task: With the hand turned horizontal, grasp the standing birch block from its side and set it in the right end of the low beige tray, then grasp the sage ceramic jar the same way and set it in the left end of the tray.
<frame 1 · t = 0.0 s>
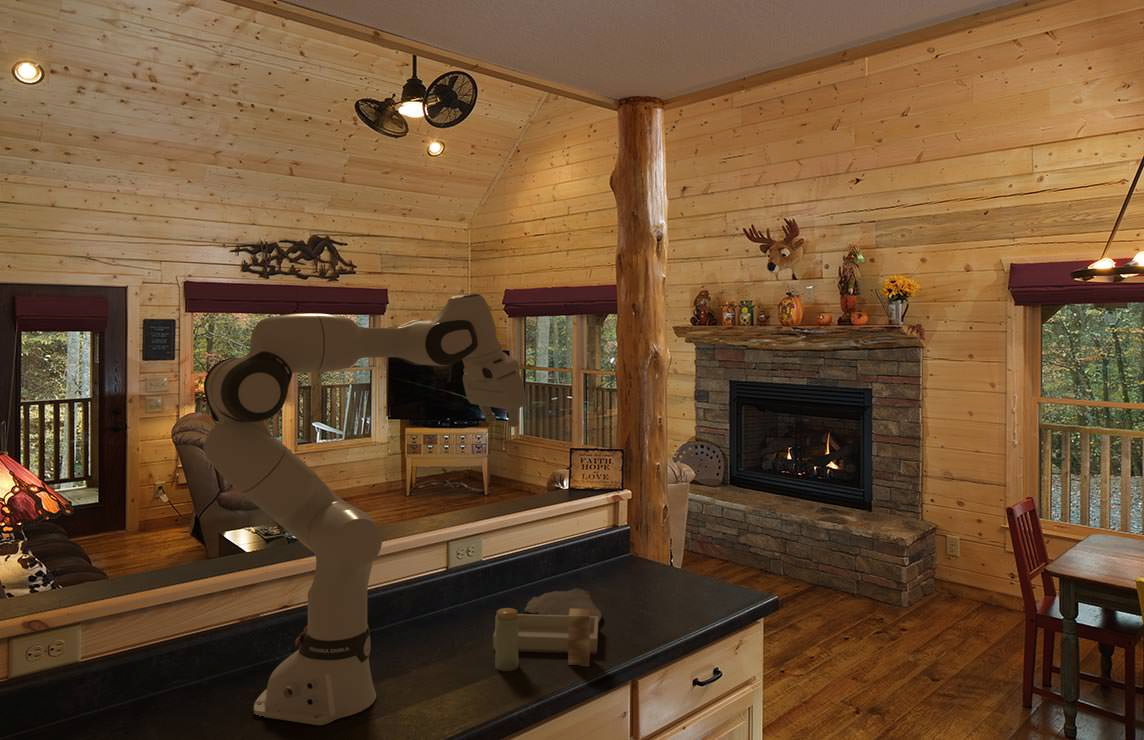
hand: (502, 423, 167), 52 cm above the worktop, tool tilted 20°, fingers open, 8 cm apart
beige tray: (547, 640, 177), on the worktop
sage jar: (506, 666, 163), on the worktop
birch block: (579, 661, 165), on the worktop
stone tool: (568, 615, 194), on the worktop
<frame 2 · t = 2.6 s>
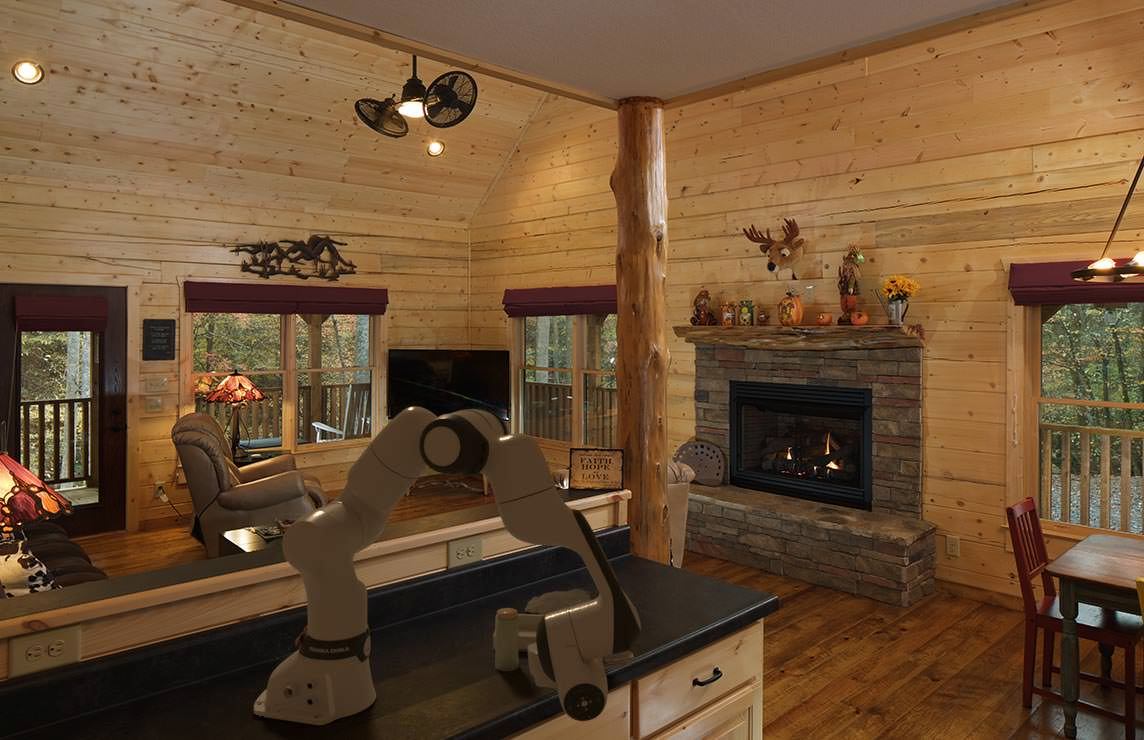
hand: (577, 639, 155), 9 cm above the worktop, tool horizontal, fingers open, 8 cm apart
nothing on the worktop moved.
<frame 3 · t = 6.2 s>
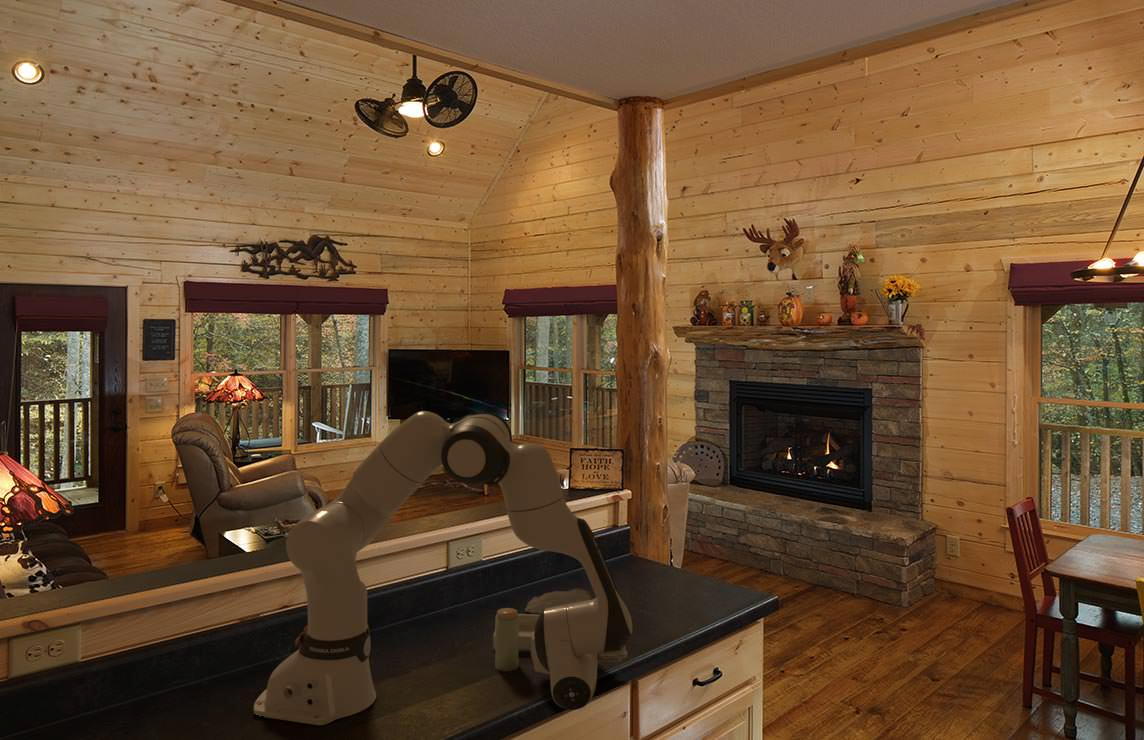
hand: (579, 630, 166), 7 cm above the worktop, tool horizontal, fingers closed on birch block, 4 cm apart
birch block: (579, 661, 165), on the worktop, touching gripper
everything else where it was.
when the fingers open (9 cm above the worktop, at t = 10.1 s): birch block drops 1 cm, resting on beige tray.
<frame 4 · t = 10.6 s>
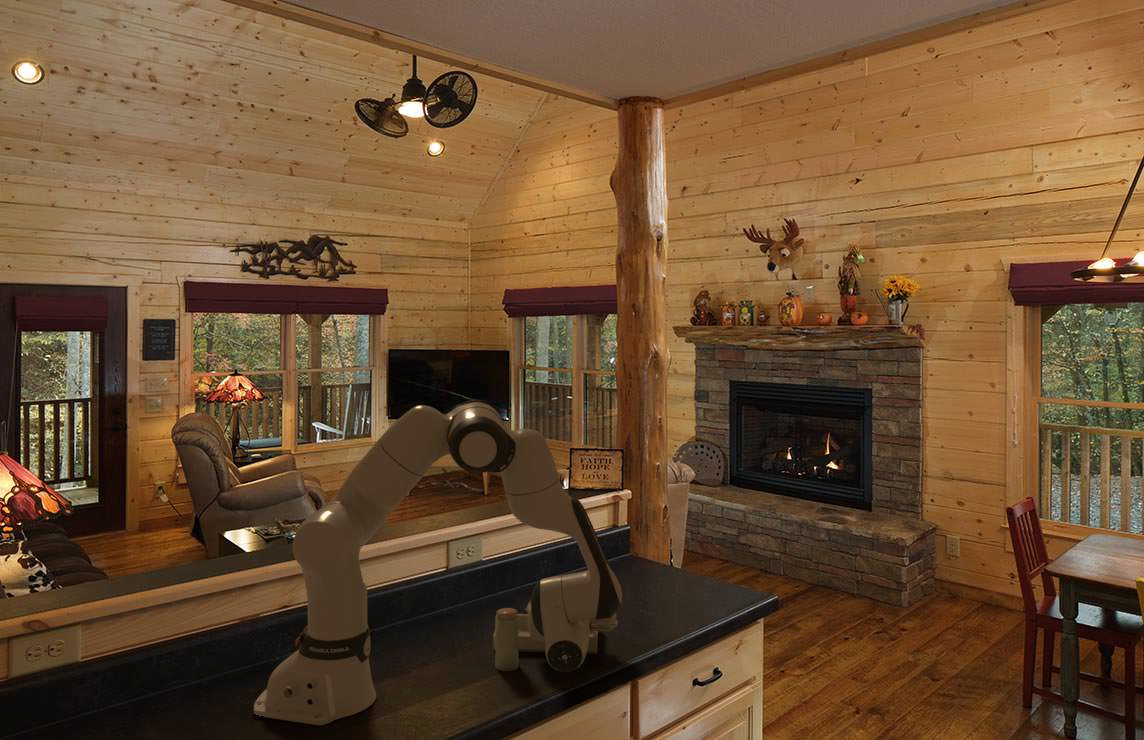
hand: (573, 603, 177), 9 cm above the worktop, tool horizontal, fingers open, 8 cm apart
birch block: (572, 638, 176), resting on beige tray
everything else where it was.
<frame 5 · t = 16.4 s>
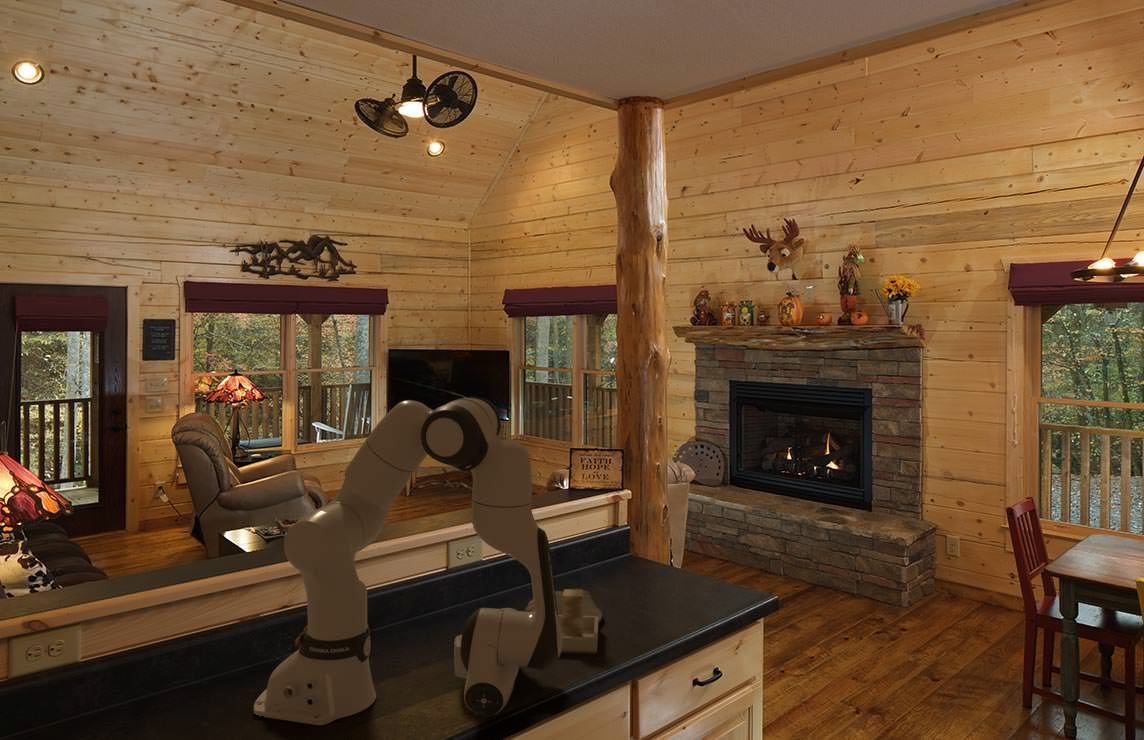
hand: (507, 634, 163), 7 cm above the worktop, tool horizontal, fingers closed on sage jar, 5 cm apart
sage jar: (506, 666, 163), on the worktop, touching gripper
everything else where it was.
when the fingers open (9 cm above the worktop, at t = 20.7 s): sage jar drops 1 cm, resting on beige tray.
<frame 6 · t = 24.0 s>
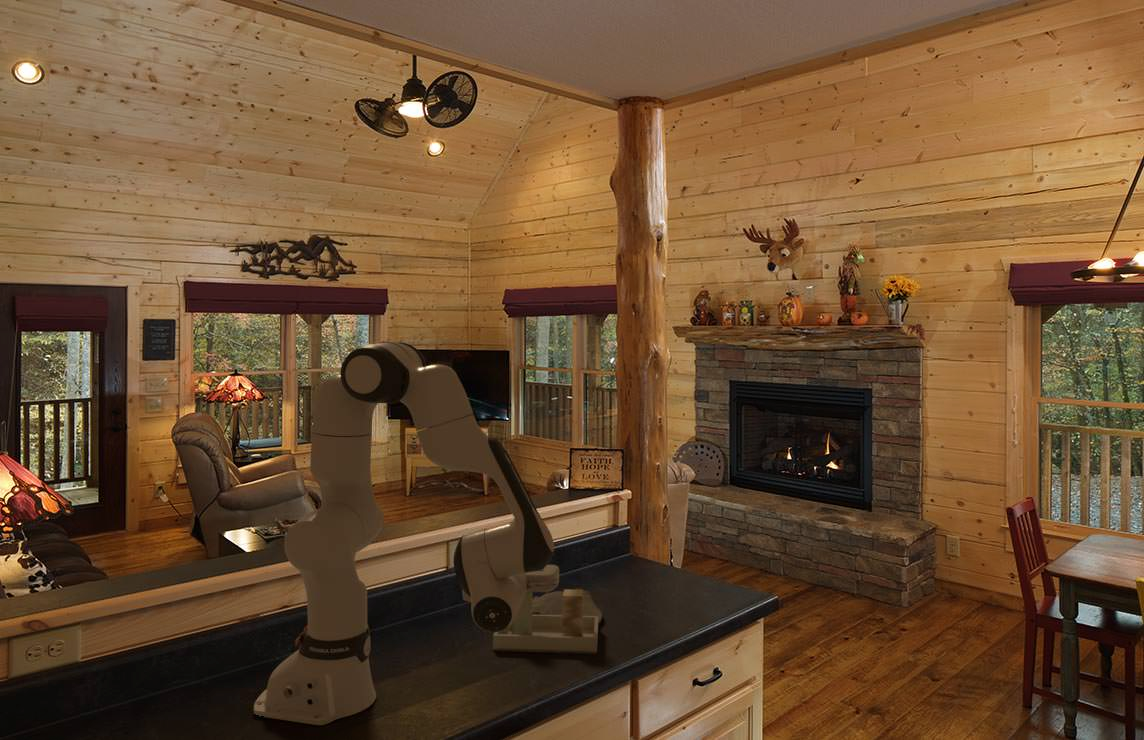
hand: (514, 564, 163), 22 cm above the worktop, tool horizontal, fingers open, 8 cm apart
sage jar: (522, 637, 177), point 1 cm above the worktop, touching beige tray
everything else where it was.
at the end: birch block inside the target area on the beige tray (6.0 cm from its centre), point 0.5 cm above the beige tray's base; sage jar inside the target area on the beige tray (6.0 cm from its centre), point 0.5 cm above the beige tray's base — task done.
